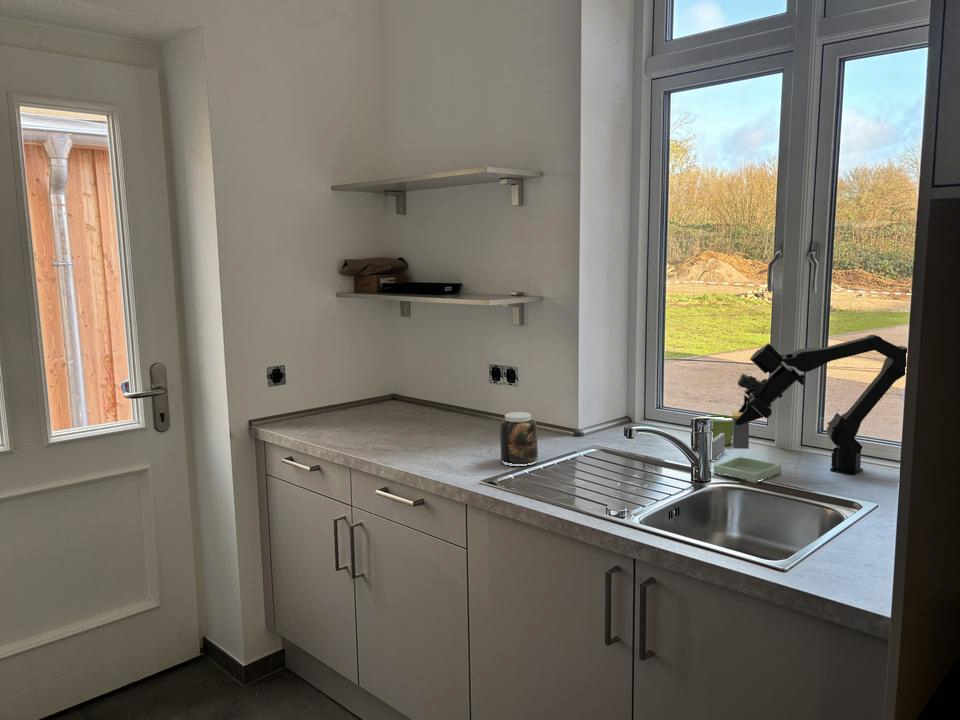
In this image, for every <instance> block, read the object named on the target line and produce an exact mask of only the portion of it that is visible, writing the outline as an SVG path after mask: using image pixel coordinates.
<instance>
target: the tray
mask: <svg viewBox="0 0 960 720" xmlns="http://www.w3.org/2000/svg"><path fill="white" fill-rule="evenodd" d="M714 472H716V473H720V474H727V475H731V476H733V477H737V478H741V479H746V480H747V481H746V483H747V482H748V483H751V484H757V483H756V481H758V480H761V479H765V478H768V477H771V476H773V475H776V476H778V475H780V473H781V474H782V464H778V463H774V462H770V461H763V460H760V459H753V458H748V457H744V456H738V457H734V458H731V459H729V460H724V461H722V462H719V463H716V464H713V473H714ZM777 474H778V475H777ZM773 477H774V476H773ZM771 478H772V477H771ZM768 479H769V478H768Z"/></svg>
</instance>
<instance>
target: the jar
mask: <svg viewBox="0 0 960 720" xmlns="http://www.w3.org/2000/svg"><path fill="white" fill-rule="evenodd" d="M499 425H500V426H499V433H500V434H499V441H500V444H499V445H500V461H501V460H502V461H504V462H507V463H512V464H528V463H532V462H535V461H537V460H538V461H539V447H538V427H537V426H538V425H537V421H536V420H535V419H533V418H532V414H531V413H530V412H525V411H514V412H513V411H512V412H508V413H505V414H504V419H503V420H502V421H501V422H500V424H499Z"/></svg>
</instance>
